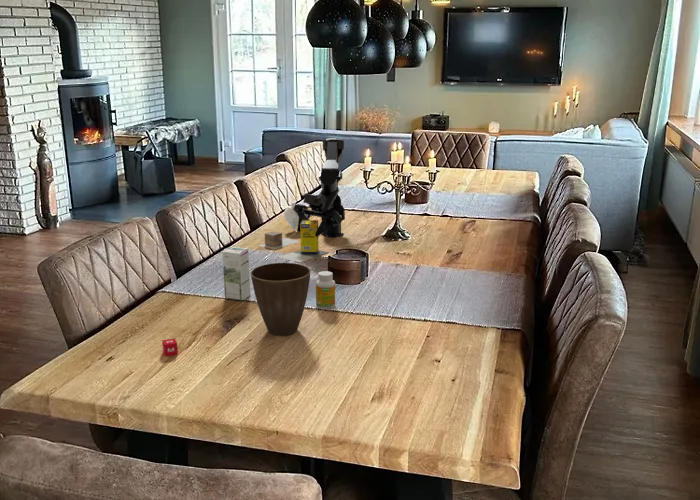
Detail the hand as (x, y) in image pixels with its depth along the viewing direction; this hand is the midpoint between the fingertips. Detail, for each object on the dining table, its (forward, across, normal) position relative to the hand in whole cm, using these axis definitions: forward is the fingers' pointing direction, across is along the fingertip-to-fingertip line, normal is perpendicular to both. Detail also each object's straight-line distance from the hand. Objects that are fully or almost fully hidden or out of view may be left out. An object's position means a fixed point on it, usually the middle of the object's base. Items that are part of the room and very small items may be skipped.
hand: (306, 234), depth 245 cm
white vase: (-9, -25, +20) cm, 33 cm away
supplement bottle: (+31, +38, -21) cm, 54 cm away
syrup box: (+38, +13, -28) cm, 49 cm away
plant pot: (+46, +41, -36) cm, 71 cm away
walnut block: (+4, -17, +6) cm, 18 cm away
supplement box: (+4, 0, +6) cm, 7 cm away
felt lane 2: (+6, 0, +4) cm, 7 cm away
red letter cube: (+64, +29, -55) cm, 89 cm away
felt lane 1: (+2, -17, +8) cm, 19 cm away
